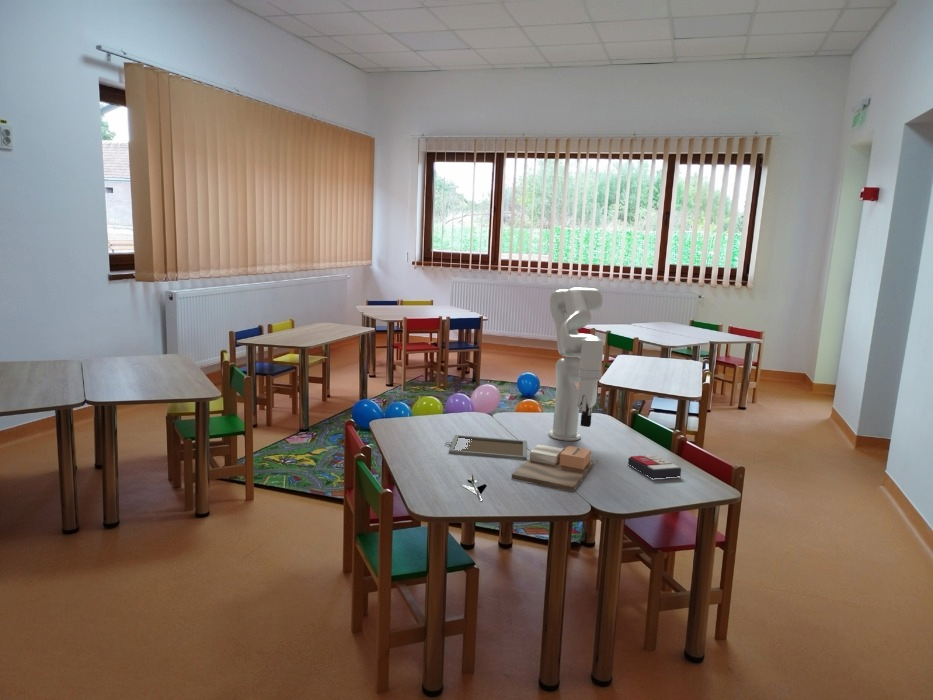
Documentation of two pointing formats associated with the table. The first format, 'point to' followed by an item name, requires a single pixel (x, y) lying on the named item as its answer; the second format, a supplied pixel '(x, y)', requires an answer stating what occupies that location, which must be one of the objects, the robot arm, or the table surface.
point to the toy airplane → (475, 488)
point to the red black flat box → (654, 466)
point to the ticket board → (550, 469)
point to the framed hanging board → (491, 447)
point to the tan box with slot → (575, 457)
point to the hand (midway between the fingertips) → (585, 425)
